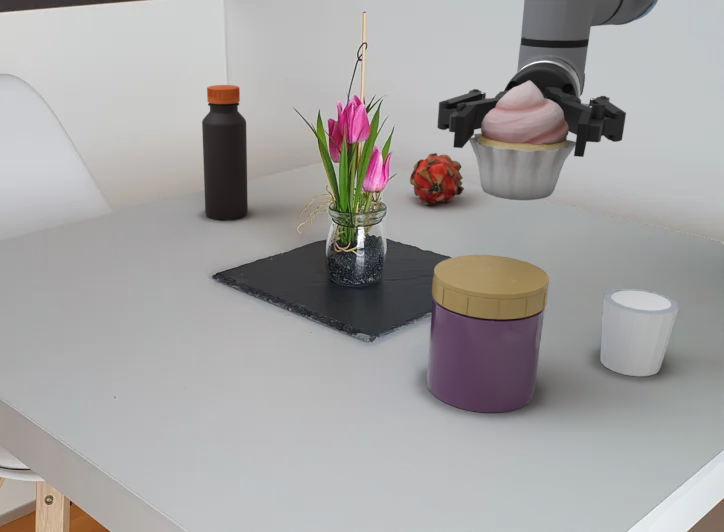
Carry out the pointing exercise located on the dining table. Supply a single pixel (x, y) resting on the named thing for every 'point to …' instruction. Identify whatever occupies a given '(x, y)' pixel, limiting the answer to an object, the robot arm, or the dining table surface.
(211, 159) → the bottle
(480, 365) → the jar
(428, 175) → the dragon fruit
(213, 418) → the dining table surface
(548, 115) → the cupcake
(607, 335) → the shot glass
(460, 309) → the jar lid
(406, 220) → the dining table surface
